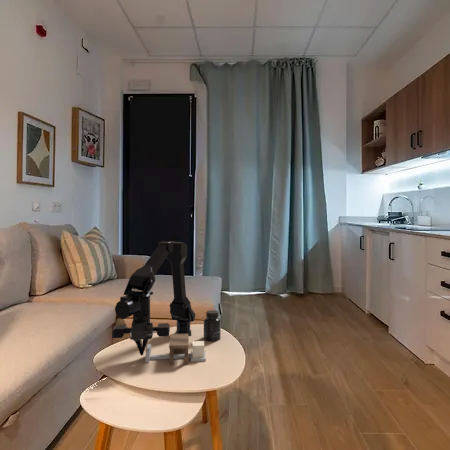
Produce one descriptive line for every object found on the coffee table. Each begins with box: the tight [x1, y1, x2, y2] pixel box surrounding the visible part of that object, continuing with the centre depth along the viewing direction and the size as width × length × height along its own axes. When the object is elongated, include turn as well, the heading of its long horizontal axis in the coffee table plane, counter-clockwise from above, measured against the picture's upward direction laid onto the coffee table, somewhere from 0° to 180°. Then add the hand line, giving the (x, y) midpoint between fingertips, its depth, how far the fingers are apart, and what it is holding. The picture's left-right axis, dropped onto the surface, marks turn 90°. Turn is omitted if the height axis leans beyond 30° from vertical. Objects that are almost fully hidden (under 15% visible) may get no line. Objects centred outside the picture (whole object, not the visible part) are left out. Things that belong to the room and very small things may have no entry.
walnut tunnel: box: [168, 333, 190, 366], centre depth 122 cm, size 11×6×7 cm, turn 6°
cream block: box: [192, 340, 205, 357], centre depth 122 cm, size 4×4×4 cm
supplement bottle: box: [203, 309, 222, 343], centre depth 140 cm, size 7×7×12 cm
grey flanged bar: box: [145, 343, 207, 364], centre depth 122 cm, size 7×20×4 cm, turn 96°
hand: (141, 354), depth 120 cm, fingers closed
